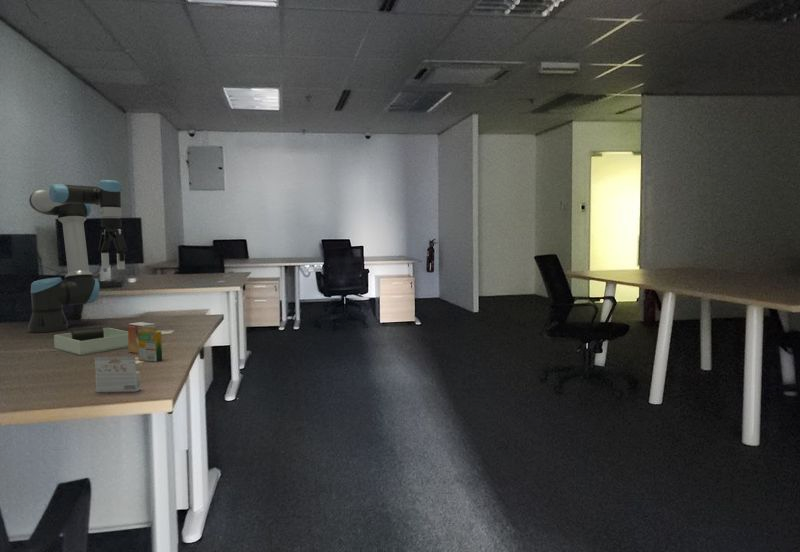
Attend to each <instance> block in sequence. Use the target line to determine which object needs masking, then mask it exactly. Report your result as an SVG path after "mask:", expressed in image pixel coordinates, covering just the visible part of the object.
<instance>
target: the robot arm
mask: <svg viewBox="0 0 800 552" xmlns="http://www.w3.org/2000/svg"><path fill="white" fill-rule="evenodd" d="M121 191H122V189H121V183H120V182H119V181H118V180H115V179H114V180H112V179H101V180H99V186H94V185H93V186H92V185H78V184H77V185H75V184H63V183H53V184H51V185H50V187H49V189H40V190H39V189H38V190H36V191H34V192H32V193H31V194H30V196H29V200H28V203H29V205H30V207H31V208H32V209H33V210H34V211H36V212H37V213H39V214H42V215H47V216H57V220H58V221H59V222H60V223H61V224H62V232H63V239H64V250H65V257H66V259H65V260H66V266H67V267H66V269H67V274H66V275H65V276H64V280H63V279H62V277H60V276H59V277H50V278H49V277H48V278H42V279H38V280H35V281H33V282H31V284H30V297H31V298H30V300H31V316H30V319H29V323H28V325H27V331H28V332H29V333H50V332H58V331H59V332H60V331H64V330H68V329H69V323H68V320H67V318H66V315H65V314H64V313H65V312H64V308H63V307H64V306H72V305H73V306H74V305H86V304H92V303H95V302H97V300H98V298H99V294H100V289H101V287H100V282H99V280H98V278H95V277H94V274H93V273H92V272H90V268H89V260H88V259H89V258H88V249H87V242H86V240H87V239H86V233H85V224H84V223H85V221H86V220H88V216H90V214H91V205H95V206H100V209H99V212H100V217H101V219H100V226H101V228H104V229H101V230H100V237H99V238H100V239H99V243H98V249H97V250H98V252H100V254H101V255H100V256H101V269H110V252H109V249H110V246H111V243H112V242H113V244H114V247H115V250H116V266H117V270H126V264H125V263H126V262H125V261H126V260H125V258H126V257H125V255H126V252H128V247H127V244H126V240H125V236H124V231H123V229H120V228H122V224H123V223H122V219H121V218H122V204H121V203H122V200H121V199H122V198H121Z"/></svg>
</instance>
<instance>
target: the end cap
mask: <svg viewBox="0 0 800 552" xmlns="http://www.w3.org/2000/svg"><path fill="white" fill-rule="evenodd" d="M70 333H71V334H72V339H74V340H78V341H85V340H92V339H99V338H104V332H103V327H102V326H100V327H91V328H89V327H88V328H78V329H72V330H71V332H70Z"/></svg>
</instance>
